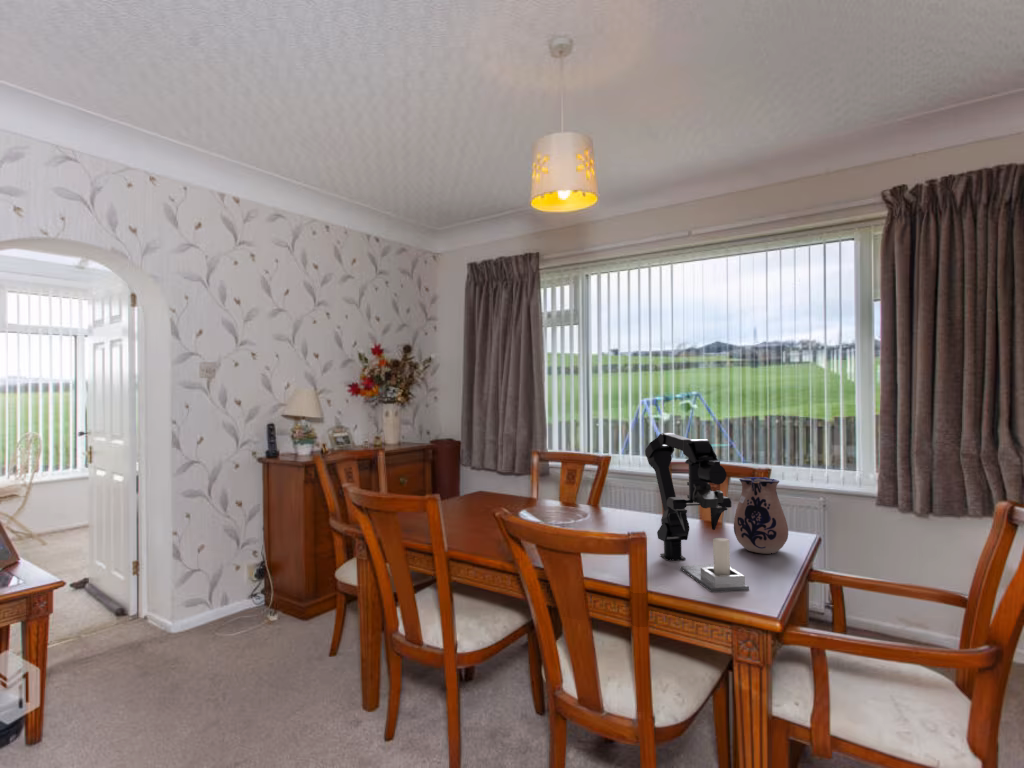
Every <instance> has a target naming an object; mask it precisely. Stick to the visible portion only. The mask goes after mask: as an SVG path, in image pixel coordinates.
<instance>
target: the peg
mask: <svg viewBox="0 0 1024 768" xmlns="http://www.w3.org/2000/svg"><path fill="white" fill-rule="evenodd" d="M712 555H713V564H714V574H715V575H717V576H721V575H730V567H731V561H730V560H731V558H730V557H731V555H730V539H728V538H724V537H715V538H713V539H712Z"/></svg>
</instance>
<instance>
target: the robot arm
mask: <svg viewBox="0 0 1024 768" xmlns="http://www.w3.org/2000/svg"><path fill="white" fill-rule="evenodd" d="M675 449H676V450H680V451H682V454H683V455H684V456H686V460H685V461H684V463H685V464H687V465H688V481H686V484H687V486H688V493H689V494H686V495H687V499H685V498H682V497H681V496H676V491H675V488H674V487H675V486H674V483H673V479H672V474H671V470H670V465H671V463H672V460H673V459H672V456H673V454H674V452H675ZM644 454H645V457H646V459H647V462H648V465H649V466H650V467H651V468H652V469H653V470H654V472H655V476H656V481H657V486H658V489H659V494H660V500H661V503H662V508H663V513H662V516H661V520H660V521H661V525H660V527H659V529H658V531H657V533H656V534H657V539H658V540H661V541H662V542H663V553H660V556H661V555H662V556H663V557H664V558H663V557H662V556H661V557H662V558H663V559H665V560H666V561H683V560H686V557H685V556H683V555H682V553H683V551H682V541H687V540H688V538H689V533H690V525H689V524H690V523H689V520H688V515H687V513H688V510H687V509H686V507H687V506H689V507H691V506H700V507H701V508H702V509H709V511H710V521H711V522H710V523H711V530H713V531H714V530H716V528H717V525H718V522H719V519H720V518H721V515H722V514H723V513H724V512H725V511H727V510H728V509H729V508H732V506H733V504H732V500H731V498H730V497H727V496H725V495H724V492H723V491H722V490H715V491H713V490H712V489H711V488H712V487H711V484H713V485H721V484H724V482H725V481H726V478H727V471H726V469H725V467H724V466H722V465H721V461H719V460H718V458H717V454H716V453H715V450H714V448H713V446H712V444H711V443H710V441H709V439H707V438H698V439H697V438H696V439H695V438H694V439H692V438H689V437H685V436H682V435H678V434H676V433H673V432H661V433H660V434H658V436H657V437H656V438H654V439H653V440H652V441H650V442H649V443H648V445H647V447H646V448H645V452H644Z"/></svg>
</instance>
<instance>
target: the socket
mask: <svg viewBox="0 0 1024 768" xmlns="http://www.w3.org/2000/svg"><path fill="white" fill-rule="evenodd" d="M681 569H682V570H681ZM680 570H681V571H683V570H684V571H685V572H686V573H685V572H684V571H683V572H684V573H685V574H687V573H688V574H689V575H690V576H689V575H688V574H687V575H688V576H689V577H691V576H692V577H693V578H694V579H693V578H692V577H691V578H692V579H693V580H695V581H696V580H697V581H698V583H699V584H700V583H701V584H702V585H701V584H700V585H701V586H703V587H704V588H705V589H707V590H708V591H710V592H711V593H718V592H738V591H750V586H749V585H747V584H746V579H745V578H746V575H744V574H743V573H741V572H739V571H737V570H736V569H734V567H733V568H732V567H731V566H730V575H721V576H717V575H715V574H714V563H713V564H712V563H711V564H696V565H695V564H694V565H692V564H691V565H680ZM697 581H696V582H697Z"/></svg>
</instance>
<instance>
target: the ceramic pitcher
mask: <svg viewBox="0 0 1024 768" xmlns="http://www.w3.org/2000/svg"><path fill="white" fill-rule="evenodd" d="M738 480H739V482H740V484H741V493H740V498H739V501H738V503H737V505H736V506H737V507H736V510H735V515H734V518H733V532H734V536H735V538H736V540H737V541H738V543H739V544H740V545H741V547H742V548H743V549H745V550H747V551H749V552H752V553H755V554H764V555H766V554H767V555H771V553H772V554H775V553H778V552H779V551H780V550H781V549H782V548H784V545H785V544H786V542H787V541H788V538H789V526H788V522H787V518H786V516H785V513H784V510H783V508H782V505H781V501H780V499H779V496H778V492H777V486H778V484H779V483H780V480H779V479H775V478H769V477H767V476H762V477H761V476H760V477H758V476H755V477H751V476H749V477H748V476H747V477H742V478H738Z"/></svg>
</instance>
